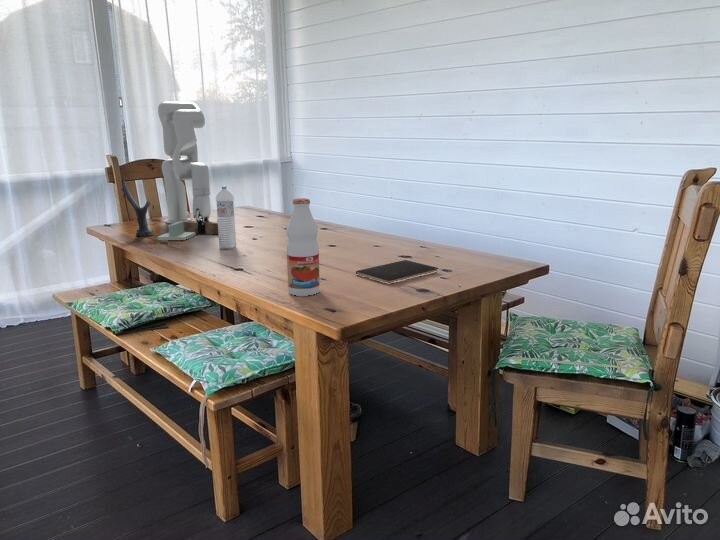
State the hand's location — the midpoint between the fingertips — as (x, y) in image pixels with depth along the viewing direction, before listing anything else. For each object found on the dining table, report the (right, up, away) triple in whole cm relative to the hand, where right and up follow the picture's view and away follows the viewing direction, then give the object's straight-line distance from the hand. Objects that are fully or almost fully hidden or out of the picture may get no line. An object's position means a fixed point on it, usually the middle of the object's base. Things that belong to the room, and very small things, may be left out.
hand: (203, 231), depth 266 cm
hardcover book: (+84, -20, -71) cm, 112 cm away
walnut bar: (0, 0, 0) cm, 0 cm away
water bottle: (+18, -9, -31) cm, 37 cm away
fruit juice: (+55, -24, -92) cm, 109 cm away
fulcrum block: (-9, -3, -10) cm, 14 cm away
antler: (-27, -3, -6) cm, 27 cm away
